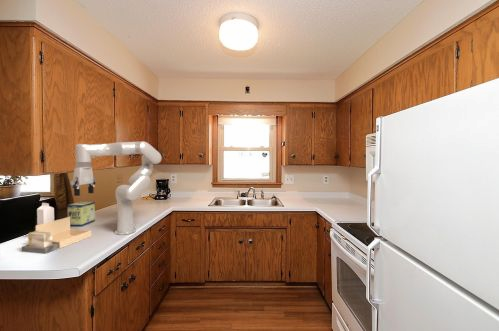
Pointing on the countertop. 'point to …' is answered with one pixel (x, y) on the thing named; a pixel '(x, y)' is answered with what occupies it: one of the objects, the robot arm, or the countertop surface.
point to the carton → (63, 232)
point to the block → (40, 239)
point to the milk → (45, 214)
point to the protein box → (81, 213)
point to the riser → (39, 249)
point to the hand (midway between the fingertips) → (84, 194)
